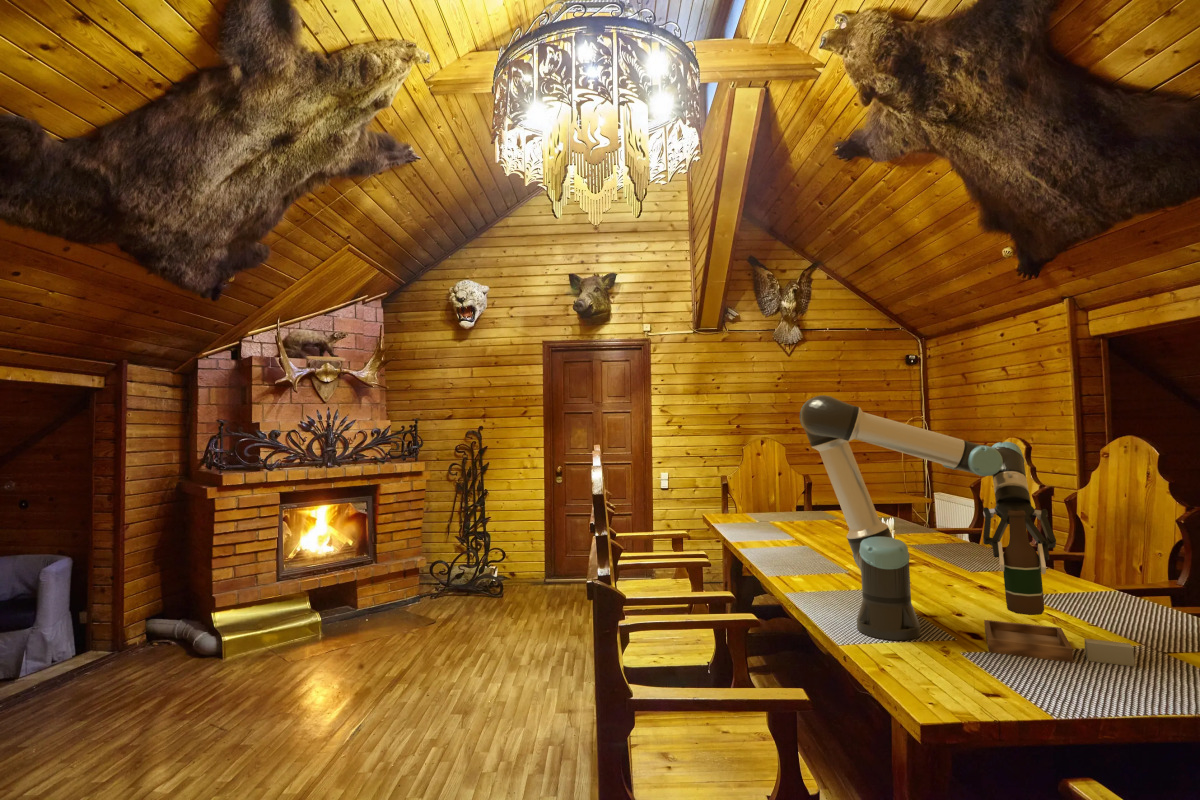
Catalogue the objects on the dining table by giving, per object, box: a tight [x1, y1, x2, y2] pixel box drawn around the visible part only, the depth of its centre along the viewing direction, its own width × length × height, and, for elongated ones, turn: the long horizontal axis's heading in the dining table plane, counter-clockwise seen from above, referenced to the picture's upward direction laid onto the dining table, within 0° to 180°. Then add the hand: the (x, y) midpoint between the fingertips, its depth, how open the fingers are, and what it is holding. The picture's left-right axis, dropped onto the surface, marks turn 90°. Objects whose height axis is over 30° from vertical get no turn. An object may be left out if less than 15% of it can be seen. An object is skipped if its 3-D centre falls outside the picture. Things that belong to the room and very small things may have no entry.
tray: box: [983, 619, 1075, 663], centre depth 148 cm, size 16×16×3 cm
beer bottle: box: [1002, 510, 1045, 616], centre depth 149 cm, size 8×8×24 cm
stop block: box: [1084, 638, 1136, 667], centre depth 138 cm, size 8×3×4 cm, turn 61°
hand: (1022, 569), depth 146 cm, fingers closed on beer bottle, 7 cm apart
